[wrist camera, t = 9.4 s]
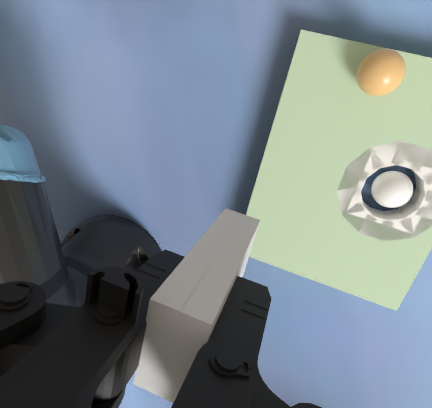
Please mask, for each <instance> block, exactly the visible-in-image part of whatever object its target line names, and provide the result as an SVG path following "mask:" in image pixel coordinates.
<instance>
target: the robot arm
mask: <svg viewBox="0 0 432 408" xmlns="http://www.w3.org/2000/svg"><path fill="white" fill-rule="evenodd" d="M43 182H46V180H45V176H43V175H42V174H41V172H40V169H39V166H38V163H37V160H36V157H35V154H34V151H33V148H32V145H31V143H30V141H29V139H28V138H27V136H26V135H25V134H24V133H22V132H21V131H20V130H18V129H16V128H14V127H11V126H8V125H3V124H0V408H118V407H119V405H120V404H121V401H122V399H123V396H124V393H125V388H126V384H127V383H128V381H129V380H130V378H131V377H132V375H133V374H134V372H135V371H136V372H135V377H134V382H133V384H135V385H137V386H139V387H141V388H143V389H145V390H147V391H150V392H152V393H154V394H156V395H158V396H160V397H162V398H164V399H166V400H168V401H171V402H173V405H172V407H171V408H321V407H319V406H316V405H314V404H311V403H298V404H296V405H294V406H292V407H290V406H289V405H287V404H286V403H285V402H284V401H282V400H281V399H280V398H279V397H277V396H276V395H275V394H274V393H273V392H272V391H271V390H270V389H269V388H268V387H267V385H266V384H265V383H264V381H263V380H262V378H261V376H260V373H259V370H258V365H257V362H258V355H259V350H260V346H261V342H262V337H263V333H264V328H265V324H266V320H267V315H268V311H269V307H270V302H271V296H270V294H269V291H268V288H267V287H266V286H263V285H261V284H258V283H255V282H253V281H250V280H247V279H245V278H242V277H243V274H244V271H245V267H246V264H247V261H248V258H249V255H250V252H251V249H252V245H253V242H254V239H255V236H256V233H257V230H258V227H259V224H260V220H259V219H256V218H253V217H250V216H247V215H244V214H241V213H238V212H235V211H232V210H229V209H226V208H225V210H224V211H223V212H222V213H221V214H220V216H219V217H218V218H217V219H216V220H215V222H214V223H213V224H212V225H211V226H210V228H209V229H208V230H207V231H206V232H205V234H204V235H203V236H202V237H201V238H200V240H199V241H198V242H197V243H196V244H195V246H194V247H193V248H192V249H191V250H190V252H189V253H188V254H187V255H186V256H185V257H184V256H181V255H178V254H176V253H173V252H170V251H168V250H164V251H161V250H160V248H159V247H158V245H157V244H156V242H155V241H154V240H153V239H152V237H151V236H150V235H149V234H148V233H147V232H146V231H144V230H143V229H142V228H141V227H139V226H138V225H136V224H135V223H133V222H131V221H129V220H127V219H124V218H121V217H118V216H112V215H102V216H97V217H93V218H91V219H89V220H87V221H85V222H83V223H81V224H79V225H78V226H76V227H75V228H74V229H72V230H71V231H70V232H69V233H68V235H67V236H66V237H65V238H64V240H63V241H62V242H61V243H60V240H59V237H58V233H57V230H56V226H55V222H54V219H53V215H52V212H51V208H50V205H49V201H48V197H47V194H46V190H45V187H44V183H43Z"/></svg>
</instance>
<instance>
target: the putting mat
mask: <svg viewBox="0 0 432 408" xmlns="http://www.w3.org/2000/svg"><path fill="white" fill-rule="evenodd" d="M379 49H388V48H384V47H379V46H375V45H370V44H365V43H361V42H356V41H352V40H347V39H342V38H338V37H333V36H329V35H324V34H319V33H315V32H310V31H306V30H301V31H300V35H299V38H298V41H297V45H296V48H295V52H294V55H293V58H292V62H291V65H290V68H289V72H288V75H287V78H286V82H285V85H284V88H283V92H282V95H281V99H280V102H279V105H278V109H277V112H276V115H275V119H274V122H273V125H272V129H271V132H270V135H269V139H268V142H267V145H266V149H265V152H264V156H263V159H262V162H261V166H260V169H259V172H258V176H257V179H256V182H255V186H254V189H253V192H252V196H251V199H250V202H249V206H248V209H247V213H246V215H247V216H250V217H253V218H256V219H259V220H260V224H259V227H258V230H257V233H256V236H255V239H254V242H253V245H252V249H251V252H250V255H249V257H251V258H254V259H257V260H259V261H262V262H265V263H268V264H270V265H273V266H276V267H278V268H281V269H284V270H287V271H289V272H292V273H295V274H298V275H300V276H303V277H306V278H308V279H311V280H314V281H317V282H319V283H322V284H325V285H328V286H330V287H333V288H336V289H338V290H341V291H344V292H347V293H349V294H352V295H355V296H358V297H360V298H363V299H366V300H368V301H371V302H374V303H377V304H379V305H382V306H385V307H388V308H390V309H393V310H396V311H397V309H398V307H399V306H400V304H401V302H402V300H403V298H404V297H405V295H406V293H407V291H408V290H409V288H410V286H411V284H412V282H413V281H414V279H415V277H416V275H417V273H418V272H419V270H420V268H421V266H422V265H423V263H424V261H425V259H426V257H427V256H428V254H429V252H430V250H431V248H432V58H430V57H425V56H421V55H416V54H411V53H407V52H402V51H398V50H394V51H396V52H398V53H399V54H400V55H401V56H402V57H403V59H404V61H405V65H406V72H405V76H404V79H403V81H402V82H401V84H400V85H399V86H398V87H397V88H396V89H395V90H394V91H392V92H391V93H389V94H386V95H383V96H371V95H368V94H366V93H364V92H363V91H362V90H361V89H360V88H359V86H358V83H357V79H356V74H357V69H358V67H359V65H360V63H361V61H362V60H363V59H364V58H365V57H366V56H367V55H368V54H370V53H371V52H373V51H376V50H379ZM391 50H393V49H391ZM394 165H399V166H402V167H406V168H409V169H411V170H412V171H413V173H414V174H415V180H416V189H415V191H414V193H413V195H412V197H411V199H410V201H408V202H407V203H405V204H404V205H402V206H401V207H399V208H398V209H392V210H386V211H381V210H378V209H375V208H371V207H369V206H368V205H367V204H366V203H365V202H364V201H363V200H362V195H361V191H362V188H363V186H364V184H365V181H366V179H367V178H368V177H369V176H370V175H372V174H373V173H374V172H376V171H377V170H378V169H380V168H384V167H389V166H394Z"/></svg>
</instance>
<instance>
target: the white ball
mask: <svg viewBox="0 0 432 408" xmlns="http://www.w3.org/2000/svg"><path fill="white" fill-rule="evenodd" d="M371 192H372V196H373V198H374V199H375V201H376V202H377V203H379V204H380V205H382V206H384V207H388V208H395V207H399V206H402V205H404V204H405V203H407V202H408V201H409V200H410V198H411V196H412V194H413V184H412V182H411V180H410V178H409V177H408V176H407V175H405V174H404V173H401V172H398V171H387V172H384V173H382V174H380V175H379V176H377V177H376V179H375V180H374V181H373V183H372V187H371Z"/></svg>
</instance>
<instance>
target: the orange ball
mask: <svg viewBox="0 0 432 408" xmlns="http://www.w3.org/2000/svg"><path fill="white" fill-rule="evenodd" d="M405 72H406V65H405V61H404V59H403V57H402V56H401V55H400V54H399V53H398V52H396V51H394V50H391V49H379V50H376V51H373V52H371V53H370V54H368V55H367V56H366V57H365V58H364V59H363V60H362V61H361V63H360V65H359V67H358V69H357V74H356V79H357V83H358V86H359V88H360V89H361V90H362V91H363V92H364V93H366V94H368V95H371V96H383V95H386V94H389V93H391V92H392V91H394V90H395V89H396V88H397V87H398V86H399V85H400V84H401V82H402V81H403V79H404V76H405Z"/></svg>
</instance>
